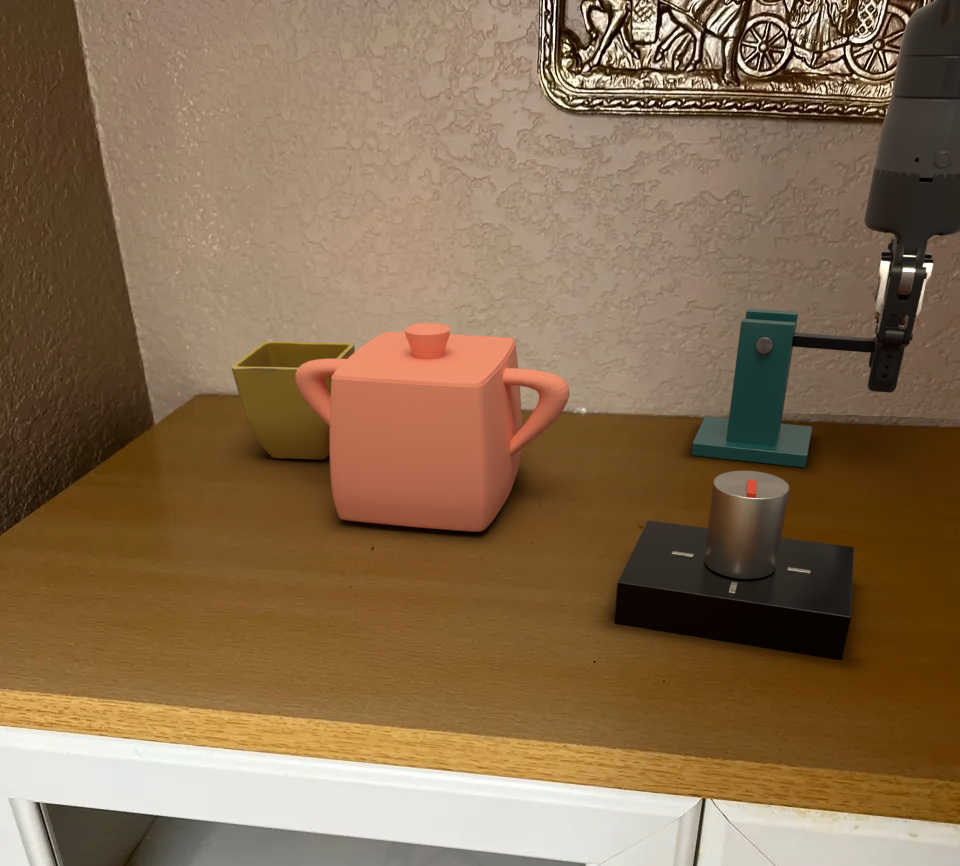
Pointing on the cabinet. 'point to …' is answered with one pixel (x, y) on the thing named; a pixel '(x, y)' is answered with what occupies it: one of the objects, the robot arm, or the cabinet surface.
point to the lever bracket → (758, 398)
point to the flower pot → (285, 397)
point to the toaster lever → (834, 342)
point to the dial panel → (738, 593)
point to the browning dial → (745, 524)
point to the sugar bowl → (428, 425)
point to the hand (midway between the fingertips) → (880, 378)
